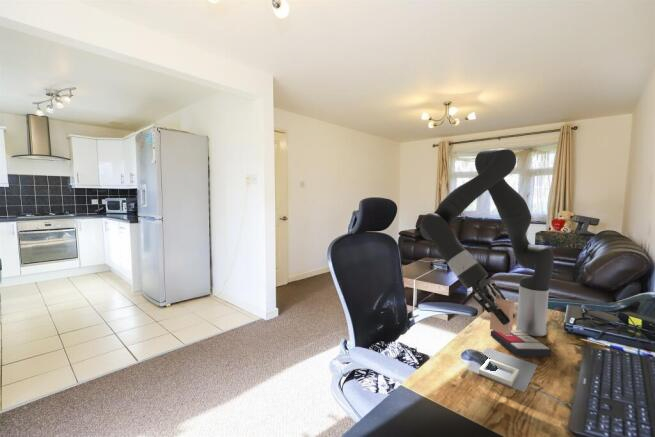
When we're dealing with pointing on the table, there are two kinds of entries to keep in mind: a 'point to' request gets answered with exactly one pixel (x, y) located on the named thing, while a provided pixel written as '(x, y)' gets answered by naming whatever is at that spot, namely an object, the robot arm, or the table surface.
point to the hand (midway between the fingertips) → (509, 320)
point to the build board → (506, 369)
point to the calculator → (522, 344)
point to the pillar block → (508, 310)
